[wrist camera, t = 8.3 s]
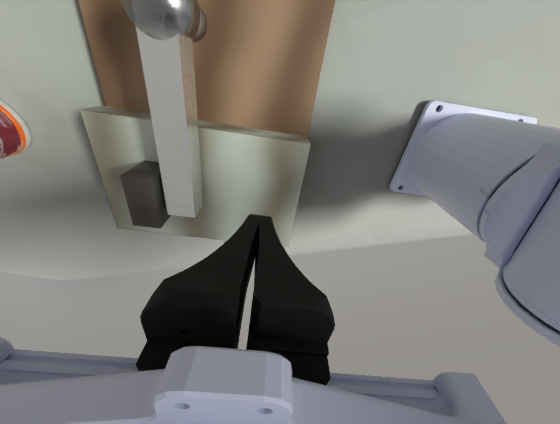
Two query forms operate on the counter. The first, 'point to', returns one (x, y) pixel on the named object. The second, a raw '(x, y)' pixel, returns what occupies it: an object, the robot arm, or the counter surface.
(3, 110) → the pill bottle
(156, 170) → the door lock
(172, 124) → the bar
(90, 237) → the counter surface
